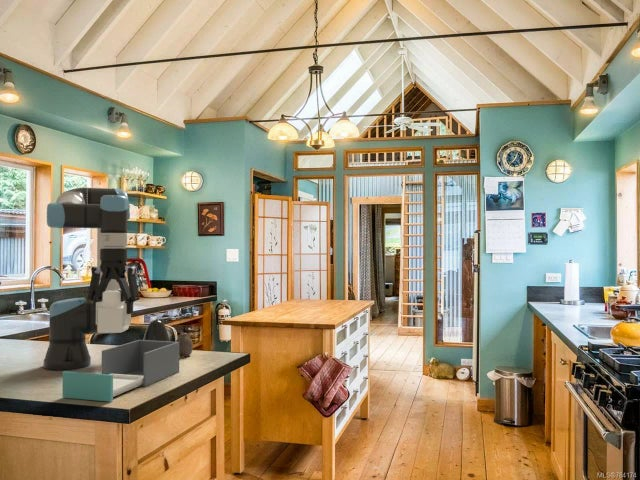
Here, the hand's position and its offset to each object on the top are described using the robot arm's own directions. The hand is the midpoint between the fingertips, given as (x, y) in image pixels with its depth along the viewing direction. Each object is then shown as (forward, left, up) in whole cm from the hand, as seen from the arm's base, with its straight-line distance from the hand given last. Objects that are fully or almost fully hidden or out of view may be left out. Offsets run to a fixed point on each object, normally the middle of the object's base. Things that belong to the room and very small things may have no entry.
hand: (113, 324), depth 161 cm
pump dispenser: (-9, +38, -19) cm, 44 cm away
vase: (-4, +49, -19) cm, 53 cm away
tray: (0, -1, -19) cm, 19 cm away
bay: (0, +14, -19) cm, 24 cm away
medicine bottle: (0, 0, -2) cm, 2 cm away
